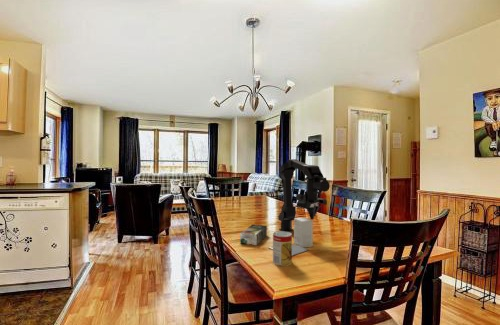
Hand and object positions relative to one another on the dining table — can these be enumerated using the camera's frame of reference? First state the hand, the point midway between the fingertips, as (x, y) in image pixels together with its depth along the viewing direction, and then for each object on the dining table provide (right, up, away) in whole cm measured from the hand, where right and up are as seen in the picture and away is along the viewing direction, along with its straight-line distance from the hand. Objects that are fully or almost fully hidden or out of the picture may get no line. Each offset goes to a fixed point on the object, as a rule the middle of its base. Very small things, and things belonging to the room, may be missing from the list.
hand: (312, 219), depth 138 cm
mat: (-14, -12, -12) cm, 22 cm away
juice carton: (-30, -12, +5) cm, 33 cm away
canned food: (-19, -12, -27) cm, 36 cm away
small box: (-5, -12, -4) cm, 14 cm away
